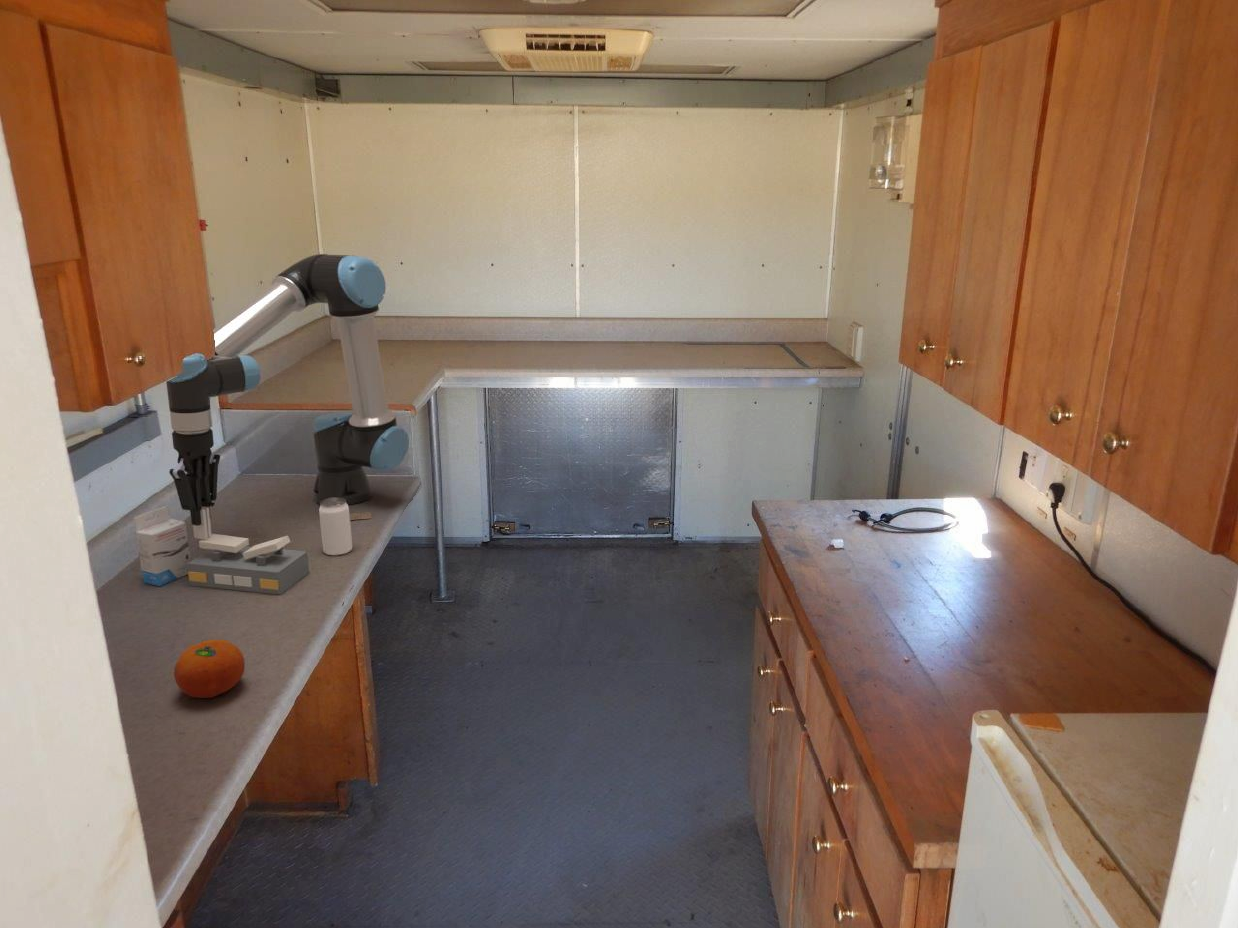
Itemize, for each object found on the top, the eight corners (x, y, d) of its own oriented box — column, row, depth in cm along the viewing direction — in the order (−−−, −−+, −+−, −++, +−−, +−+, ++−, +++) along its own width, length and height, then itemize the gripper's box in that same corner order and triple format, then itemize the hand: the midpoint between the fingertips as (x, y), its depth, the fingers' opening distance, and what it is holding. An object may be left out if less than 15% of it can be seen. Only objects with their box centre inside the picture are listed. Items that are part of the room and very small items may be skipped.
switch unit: (222, 564, 193) (218, 535, 191) (309, 572, 190) (306, 543, 187) (189, 585, 183) (184, 555, 181) (280, 595, 179) (276, 564, 177)
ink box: (158, 587, 182) (147, 521, 178) (142, 582, 184) (131, 517, 180) (193, 572, 190) (184, 508, 185) (178, 567, 192) (168, 504, 187)
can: (344, 557, 198) (339, 507, 194) (317, 554, 199) (312, 505, 195) (357, 546, 204) (353, 498, 200) (332, 544, 205) (327, 496, 201)
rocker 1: (213, 543, 188) (212, 533, 188) (249, 548, 187) (248, 538, 186) (200, 552, 184) (198, 541, 183) (236, 557, 183) (235, 546, 182)
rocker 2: (259, 555, 187) (255, 545, 186) (292, 545, 184) (287, 535, 184) (247, 563, 183) (242, 553, 182) (280, 554, 180) (275, 543, 180)
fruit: (196, 673, 150) (189, 631, 148) (256, 672, 150) (251, 631, 148) (166, 708, 140) (158, 664, 138) (231, 708, 140) (225, 664, 138)
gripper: (197, 420, 185) (207, 523, 192) (152, 435, 173) (165, 546, 180) (229, 423, 184) (238, 527, 191) (186, 439, 171) (197, 550, 178)
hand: (202, 536), depth 185 cm, fingers closed, pressing on rocker 1
